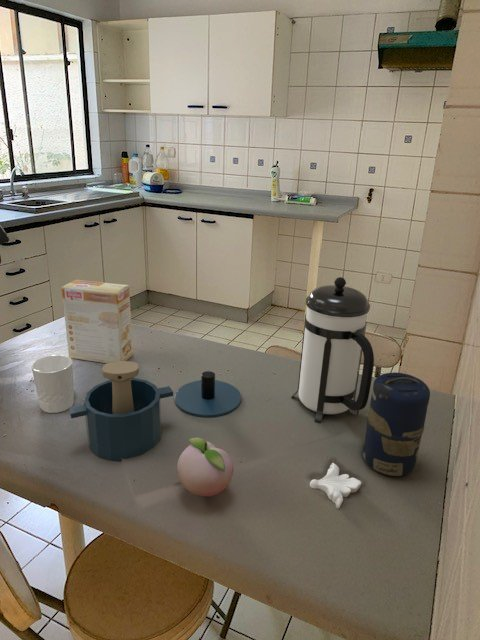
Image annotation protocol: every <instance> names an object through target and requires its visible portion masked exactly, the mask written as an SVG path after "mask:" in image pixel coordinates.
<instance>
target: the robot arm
mask: <svg viewBox="0 0 480 640" xmlns="http://www.w3.org/2000/svg"><path fill="white" fill-rule="evenodd" d="M9 241H10V237H9V234H8V233H7V231H5V229H4V228H3V227H2V225H1V224H0V246H1V245H3V244H7V243H9ZM1 256H2V255H0V265H1V264H2V257H1Z"/></svg>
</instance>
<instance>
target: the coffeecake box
mask: <svg viewBox="0 0 480 640" xmlns="http://www.w3.org/2000/svg"><path fill="white" fill-rule="evenodd" d="M61 296H62V307H63V313H64V323H65V332H66V333H65V334H66V341H67V351H68V357H69V358H71V359H76V360H83V361H87V362H88V361H89V362H96V363H103V364H107V363H111V362H116V361H129V359H130V358H131V357H132V356H133V355H134V348H133V334H132V315H131V313H132V312H131V298H130V297H131V296H130V285H129V284H121V283H112V282H111V283H110V282H101V281H93V280H92V281H91V280H85V279H83V280H82V279H75V280H71V282H68V283H67V284H65V285H62V286H61Z"/></svg>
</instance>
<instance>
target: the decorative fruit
mask: <svg viewBox="0 0 480 640" xmlns="http://www.w3.org/2000/svg"><path fill="white" fill-rule="evenodd" d="M188 441H189V443H190V444H189V445H188V446H186V448H185V449H184V450H183V452H182V453H181V454H180V456H179V457H178V460H177V465H176V470H177V476H178V478H179V481H180V483H181V485H182V486H183V487H184V488H185V489H186V490H187V491H188V492H190V493H192V494H194V495H196V496H200V497H213V496H216V495H217V494H219V493H221V492H222V491H225V489H226V488H227V487H228V486H229V485H230V483H231V482H232V479H233V476H234V470H235V468H234V462H233V460H232V458H231V457H230V455H229V454H228V453H227V452H226V451H225V450H223V449H221V448H219V447H216V446H215V445H214V444H213V443H212V442H210V441H208V440H205V439H203V438H202V437H191V438H189V440H188Z"/></svg>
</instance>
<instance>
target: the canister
mask: <svg viewBox="0 0 480 640" xmlns="http://www.w3.org/2000/svg"><path fill="white" fill-rule="evenodd" d="M374 379H375V380H374V381H373V385H372V391H371V396H370V404H369V410H368V416H367V421H366V427H365V436H364V444H363V447H362V448H363V449H362V456H363V459H364V461H365V463H366V464H367V465H368V466H369V467H370V468H371V469H373V470H374V471H376V472H378V473H380V474H382V475H386V476H390V477H402V476H407V475H408V474H410V473H411V472H412V471H413V470H414V469H415V467H416V464H417V459H418V455H419V451H420V445H421V442H422V436H423V433H424V431H425V424H426V418H427V413H428V408H429V403H430V398H431V391H430V387H429V386H428V384H427V383H425V382H424V381H423V380H421V379H420V378H419V377H416V376H414V375H411V374H408V373H405V372H385V373H383V374H380V375H378V376H377V377H376V378H374Z"/></svg>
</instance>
